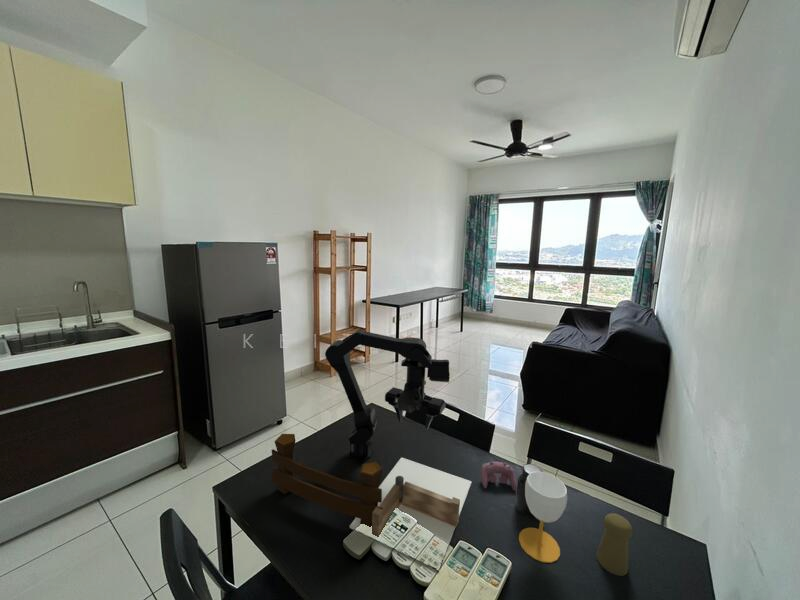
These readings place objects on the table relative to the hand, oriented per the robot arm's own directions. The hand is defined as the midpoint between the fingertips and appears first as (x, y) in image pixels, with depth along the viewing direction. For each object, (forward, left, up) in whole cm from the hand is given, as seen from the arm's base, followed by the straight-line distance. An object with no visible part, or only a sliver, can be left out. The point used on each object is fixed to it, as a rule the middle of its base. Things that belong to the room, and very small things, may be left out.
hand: (413, 425), depth 103 cm
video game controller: (+27, +2, -12) cm, 30 cm away
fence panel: (+13, -18, -11) cm, 25 cm away
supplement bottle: (+36, -4, -12) cm, 38 cm away
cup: (+39, -14, -12) cm, 43 cm away
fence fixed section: (+4, -24, -11) cm, 27 cm away
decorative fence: (-12, -28, -12) cm, 33 cm away
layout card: (+8, -16, -12) cm, 22 cm away
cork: (+54, -11, -12) cm, 56 cm away
